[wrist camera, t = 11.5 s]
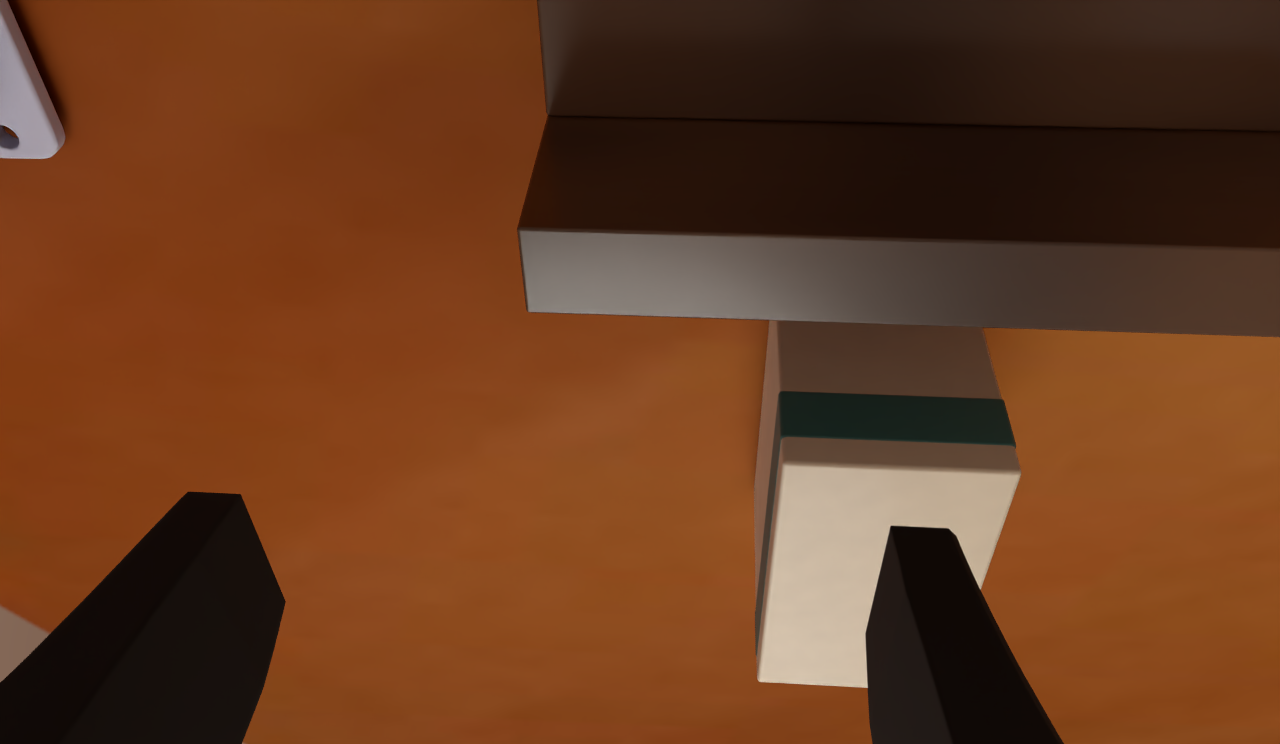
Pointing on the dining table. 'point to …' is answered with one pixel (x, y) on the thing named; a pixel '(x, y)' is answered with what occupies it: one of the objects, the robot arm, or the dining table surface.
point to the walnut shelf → (911, 163)
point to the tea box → (866, 477)
